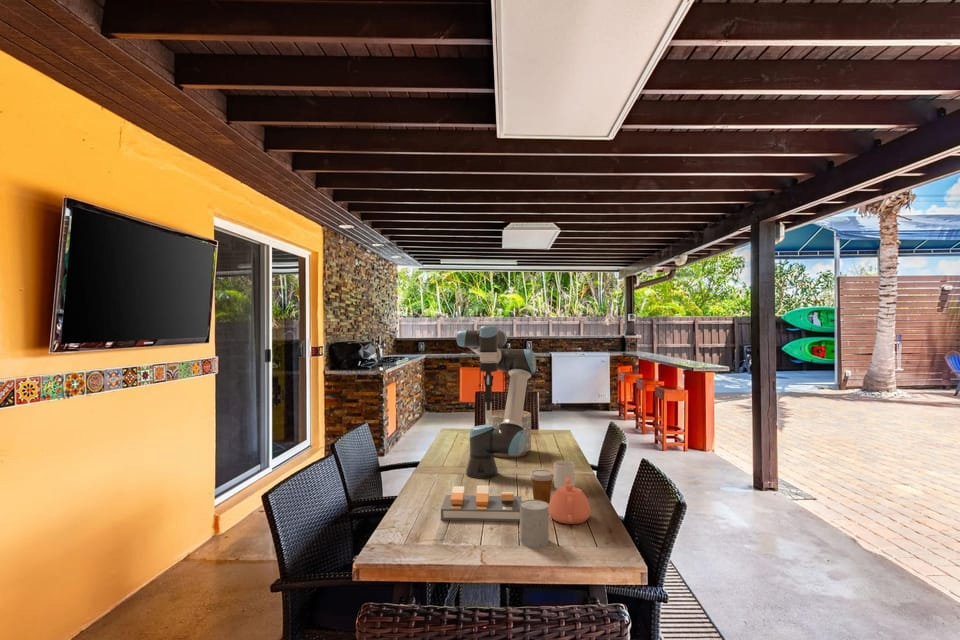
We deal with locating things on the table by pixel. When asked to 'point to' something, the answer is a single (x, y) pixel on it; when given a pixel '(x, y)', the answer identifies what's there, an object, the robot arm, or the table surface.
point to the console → (482, 509)
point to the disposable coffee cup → (541, 484)
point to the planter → (525, 422)
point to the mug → (563, 473)
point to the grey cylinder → (534, 523)
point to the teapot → (569, 505)
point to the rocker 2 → (482, 495)
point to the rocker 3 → (507, 496)
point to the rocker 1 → (457, 495)
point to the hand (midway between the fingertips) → (488, 417)
